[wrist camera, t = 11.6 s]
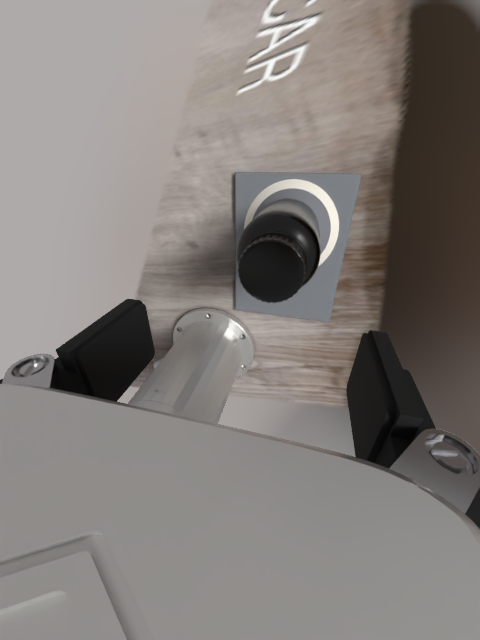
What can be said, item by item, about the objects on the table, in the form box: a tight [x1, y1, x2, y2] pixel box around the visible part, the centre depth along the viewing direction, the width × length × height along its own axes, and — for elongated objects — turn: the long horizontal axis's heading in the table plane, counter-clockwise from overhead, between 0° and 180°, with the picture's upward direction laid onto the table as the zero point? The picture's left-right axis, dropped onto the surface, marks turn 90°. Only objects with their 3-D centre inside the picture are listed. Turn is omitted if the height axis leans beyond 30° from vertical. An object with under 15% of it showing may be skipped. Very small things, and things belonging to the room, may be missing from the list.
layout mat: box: [235, 172, 362, 322], centre depth 29 cm, size 16×12×1 cm
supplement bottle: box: [237, 198, 321, 303], centre depth 23 cm, size 7×7×12 cm
